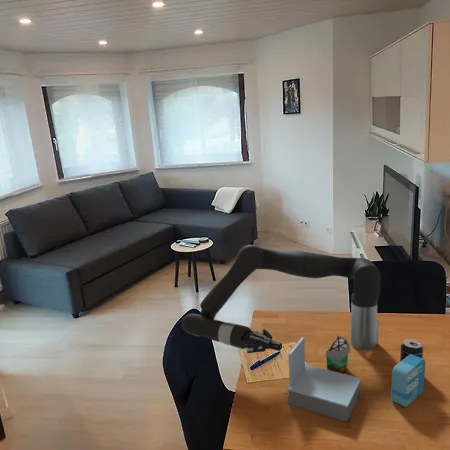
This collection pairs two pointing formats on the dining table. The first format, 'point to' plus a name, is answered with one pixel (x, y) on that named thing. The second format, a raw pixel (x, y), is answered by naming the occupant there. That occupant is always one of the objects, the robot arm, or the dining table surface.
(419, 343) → the beverage can
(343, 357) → the food container
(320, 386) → the lid
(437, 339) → the dining table surface
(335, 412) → the box
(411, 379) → the data package
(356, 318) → the robot arm
